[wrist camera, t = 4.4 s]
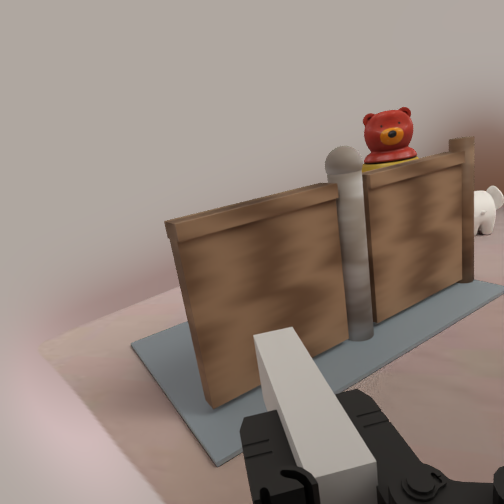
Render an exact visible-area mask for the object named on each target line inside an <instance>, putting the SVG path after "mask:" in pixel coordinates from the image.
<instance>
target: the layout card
mask: <svg viewBox="0 0 504 504" xmlns="http://www.w3.org/2000/svg"><path fill="white" fill-rule="evenodd" d="M502 294H504V286H502V285H497V284H492V283H488V282H483V281H478V280H474V281H473V282H471V283H454V284H452V285H450V286H448V287H446V288H444V289H443V290H441V291H439V292H437V293H435V294H433V295H431V296H429V297H427V298H425V299H423V300H422V301H420V302H418V303H416V304H414V305H412V306H410V307H408V308H406V309H404V310H402V311H400V312H399V313H397V314H395V315H393V316H391V317H389V318H387V319H385V320H383V321H381V322H379V323H378V324H377V323H375V322H373V328H374V336H373V337H372V338H371V339H369V340H366V341H361V342H356V341H350V340H348V339H347V340H345V341H343V342H341V343H339V344H337V345H336V346H334V347H332V348H330V349H328V350H326V351H324V352H322V353H320V354H318V355H316V356H314V357H313V358H312V359H313V361H314V362H315V364H316V365H317V367H318V369H319V370H320V372H321V373H322V375H323V377H324V378H325V380H326V381H327V383H328V385H329V386H330V388H331V389H332V391H333V393H334V394H338V393H341V392H342V391H344V390H345V389H347V388H349V387H350V386H352V385H354V384H355V383H357V382H359V381H360V380H362V379H364V378H365V377H367V376H369V375H370V374H372V373H374V372H375V371H377V370H378V369H380V368H382V367H383V366H385V365H387V364H388V363H390V362H392V361H393V360H395V359H397V358H398V357H400V356H402V355H403V354H405V353H406V352H408V351H410V350H411V349H413V348H415V347H416V346H418V345H420V344H421V343H423V342H425V341H426V340H428V339H430V338H431V337H433V336H435V335H436V334H438V333H439V332H441V331H443V330H444V329H446V328H448V327H449V326H451V325H453V324H454V323H456V322H458V321H459V320H461V319H463V318H464V317H466V316H467V315H469V314H471V313H472V312H474V311H476V310H477V309H479V308H481V307H482V306H484V305H486V304H487V303H489V302H491V301H492V300H494V299H496V298H497V297H499V296H500V295H502ZM131 346H132V348H133V349H134V350H135V352H136V353H137V355H138V356H139V357H140V359H141V360H142V362H143V363H144V364H145V366H146V367H147V369H148V370H149V372H150V373H151V374H152V376H153V377H154V379H155V380H156V381H157V383H158V384H159V386H160V387H161V388H162V390H163V391H164V393H165V394H166V396H167V397H168V398H169V400H170V401H171V403H172V404H173V405H174V407H175V408H176V410H177V411H178V413H179V414H180V415H181V417H182V418H183V420H184V421H185V422H186V424H187V425H188V427H189V428H190V429H191V431H192V432H193V434H194V435H195V437H196V438H197V439H198V441H199V442H200V444H201V445H202V446H203V448H204V449H205V451H206V452H207V453H208V455H209V456H210V458H211V459H212V461H213V462H214V463H215V465H216V466H217V467H219V466H220V465H222V464H223V463H225V462H227V461H228V460H230V459H232V458H233V457H235V456H237V455H238V454H240V453H242V452H243V449H242V443H241V438H240V433H239V431H240V428H241V425H242V421H243V418H244V417H248V416H252V415H256V414H260V413H264V412H268V411H267V408H266V405H265V402H264V399H263V394H262V387H261V385H259V386H257V387H255V388H253V389H251V390H250V391H248V392H246V393H244V394H242V395H240V396H238V397H236V398H234V399H232V400H230V401H228V402H227V403H225V404H223V405H221V406H219V407H217V408H215V409H213V408H212V407H211V406H210V405H209V404H208V403H207V401H206V400H205V396H204V392H203V387H202V383H201V378H200V374H199V369H198V365H197V360H196V356H195V351H194V347H193V342H192V337H191V333H190V328H189V324H188V321H187V322H184V323H182V324H179V325H177V326H174V327H171V328H169V329H166V330H164V331H161V332H158V333H156V334H153V335H151V336H148V337H146V338H143V339H140V340H138V341H135V342H133V343H131Z"/></svg>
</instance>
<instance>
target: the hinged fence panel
mask: <svg viewBox="0 0 504 504" xmlns="http://www.w3.org/2000/svg"><path fill="white" fill-rule="evenodd" d="M336 198H339V196H338V185H337V183H318V184H314V185H310V186H306V187H301V188H297V189H293V190H289V191H285V192H281V193H277V194H273V195H269V196H265V197H261V198H257V199H253V200H249V201H245V202H240V203H236V204H233V205H228V206H224V207H220V208H216V209H212V210H208V211H204V212H200V213H196V214H192V215H188V216H184V217H180V218H175V219H171V220H167V221H165V222H164V223H165V227H166V232H167V236H168V238H169V239H170V242H171V247H172V252H173V256H174V261H175V265H176V270H177V274H178V279H179V283H180V288H181V292H182V297H183V301H184V306H185V310H186V315H187V319H188V324H189V328H190V333H191V337H192V342H193V347H194V351H195V356H196V360H197V365H198V369H199V374H200V378H201V383H202V387H203V392H204V396H205V400H206V401H207V403H208V404H209V405H210V406H211V407H212V408H213V409H215V408H217V407H219V406H221V405H223V404H225V403H227V402H228V401H230V400H232V399H234V398H236V397H238V396H240V395H242V394H244V393H246V392H248V391H250V390H251V389H253V388H255V387H257V386H259V385H261V381H260V375H259V369H258V362H257V356H256V350H255V344H254V337H253V335H256V334H261V333H265V332H270V331H275V330H279V329H284V328H289V327H293V329H294V330H295V332H296V333H297V335H298V337H299V338H300V340H301V341H302V343H303V345H304V346H305V348H306V349H307V351H308V353H309V354H310V356H311V357H312V358H313V357H314V356H316V355H318V354H320V353H322V352H324V351H326V350H328V349H330V348H332V347H334V346H336V345H337V344H339V343H341V342H343V341H345V340H347V339H349V333H348V322H347V312H346V301H345V291H344V280H343V270H342V260H341V249H340V239H339V228H338V218H337V207H336Z"/></svg>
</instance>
